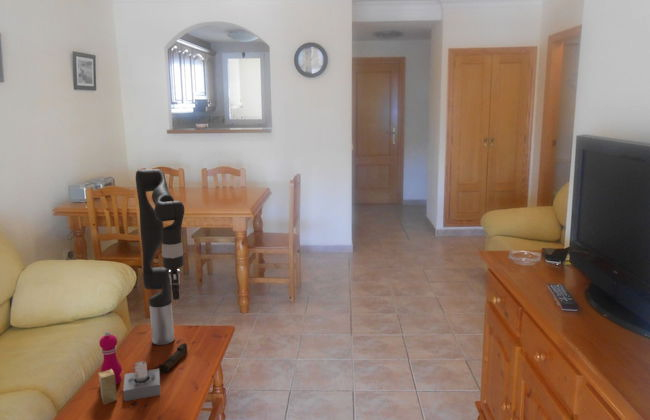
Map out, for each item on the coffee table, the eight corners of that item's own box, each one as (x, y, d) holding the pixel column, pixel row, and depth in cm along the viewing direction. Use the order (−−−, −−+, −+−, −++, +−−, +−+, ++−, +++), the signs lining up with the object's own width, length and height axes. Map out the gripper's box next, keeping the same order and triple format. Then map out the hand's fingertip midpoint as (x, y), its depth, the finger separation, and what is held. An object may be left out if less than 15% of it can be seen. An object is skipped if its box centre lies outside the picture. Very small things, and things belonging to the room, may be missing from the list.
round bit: (137, 387, 183) (134, 362, 181) (148, 385, 184) (146, 360, 183) (136, 393, 179) (134, 367, 178) (148, 391, 181) (146, 365, 179)
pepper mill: (127, 378, 190) (122, 328, 186) (113, 388, 183) (108, 337, 179) (111, 375, 192) (106, 326, 188) (97, 385, 185) (91, 334, 181)
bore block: (125, 384, 186) (124, 374, 185) (159, 378, 189) (159, 368, 189) (124, 401, 174) (123, 390, 174) (160, 394, 178) (159, 384, 177)
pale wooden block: (101, 398, 176) (98, 372, 174) (114, 394, 179) (112, 368, 177) (103, 404, 173) (100, 378, 171) (117, 400, 175) (114, 374, 173)
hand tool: (167, 374, 192) (166, 363, 191) (158, 373, 193) (157, 362, 192) (193, 352, 210) (192, 342, 209) (184, 351, 211) (183, 341, 210)
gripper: (161, 250, 193) (164, 290, 196) (162, 260, 180) (165, 303, 183) (182, 248, 195) (184, 288, 199) (184, 258, 182) (187, 300, 185)
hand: (175, 295), depth 191 cm, fingers open, 8 cm apart
